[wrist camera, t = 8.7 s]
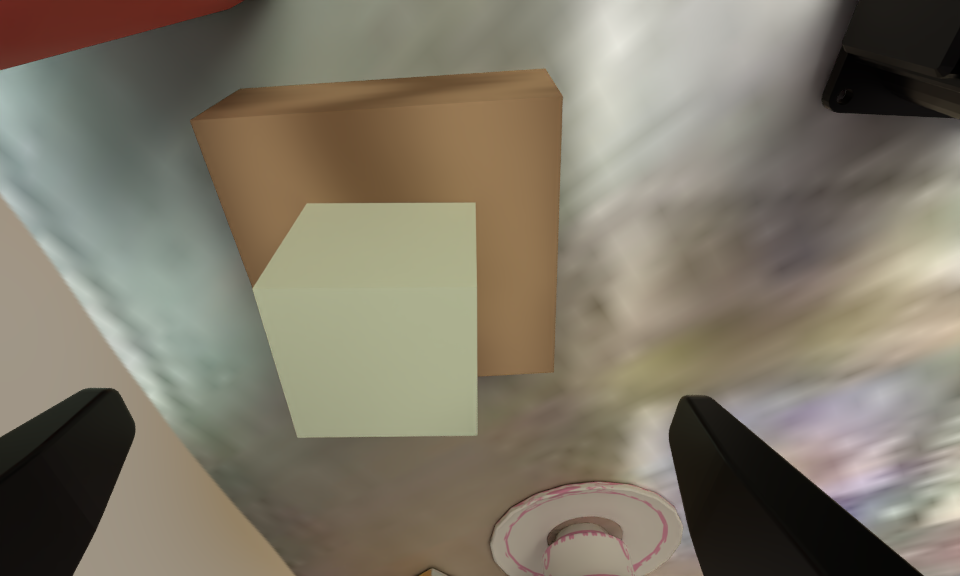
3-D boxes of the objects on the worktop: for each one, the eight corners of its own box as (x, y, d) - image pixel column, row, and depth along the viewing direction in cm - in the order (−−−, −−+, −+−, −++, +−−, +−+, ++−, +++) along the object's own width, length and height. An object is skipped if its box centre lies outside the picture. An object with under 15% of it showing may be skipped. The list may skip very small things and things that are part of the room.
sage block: (475, 202, 15) (476, 287, 11) (476, 333, 18) (477, 435, 14) (306, 203, 15) (252, 288, 11) (334, 334, 18) (297, 437, 14)
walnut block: (543, 66, 17) (562, 96, 13) (540, 309, 22) (553, 372, 19) (244, 86, 17) (189, 120, 14) (316, 322, 23) (289, 387, 19)
